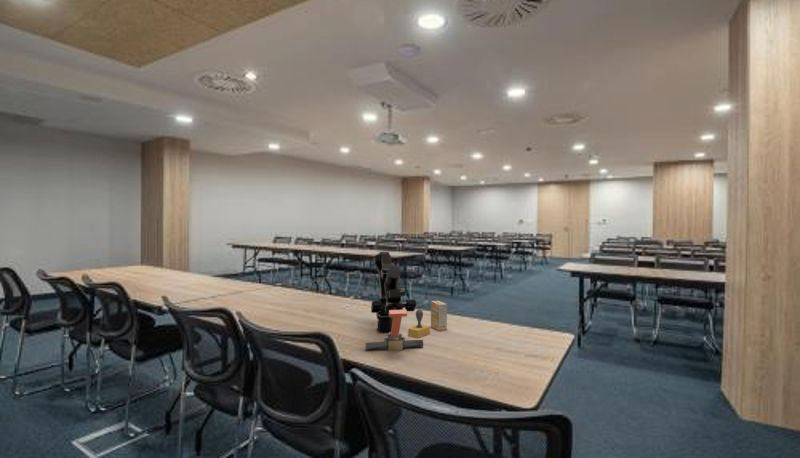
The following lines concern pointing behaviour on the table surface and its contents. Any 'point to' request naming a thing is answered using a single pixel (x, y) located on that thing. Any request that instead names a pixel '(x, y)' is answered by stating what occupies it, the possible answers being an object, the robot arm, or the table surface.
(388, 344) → the pipe valve
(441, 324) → the supplement box
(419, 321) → the rubber stamp
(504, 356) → the table surface
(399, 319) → the lever
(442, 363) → the table surface
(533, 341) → the table surface
